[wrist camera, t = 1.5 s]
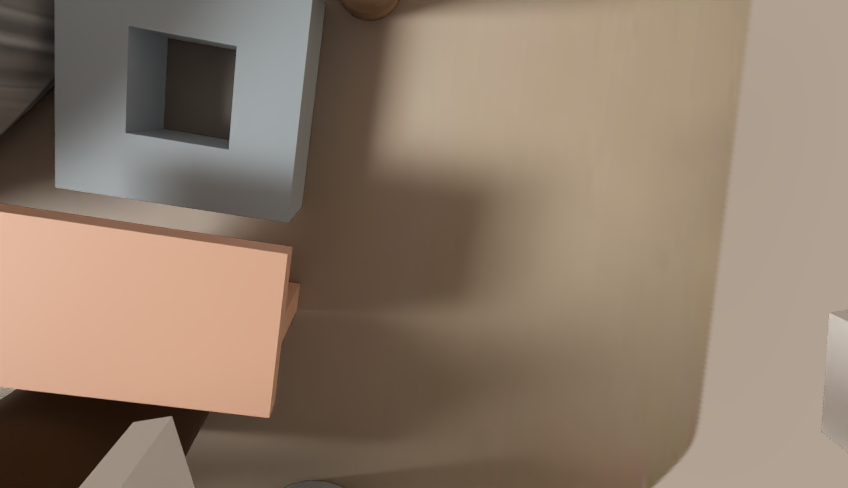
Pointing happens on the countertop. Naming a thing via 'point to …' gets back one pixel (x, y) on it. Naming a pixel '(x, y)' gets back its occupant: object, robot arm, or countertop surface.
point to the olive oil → (71, 435)
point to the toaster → (25, 56)
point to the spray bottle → (313, 485)
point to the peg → (369, 8)
